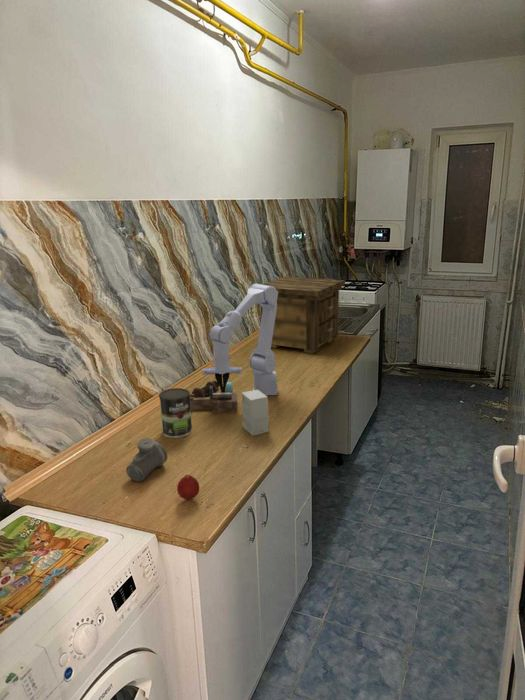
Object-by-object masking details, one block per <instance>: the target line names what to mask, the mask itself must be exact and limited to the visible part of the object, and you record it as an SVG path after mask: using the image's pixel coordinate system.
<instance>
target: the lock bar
mask: <svg viewBox="0 0 525 700" xmlns="http://www.w3.org/2000/svg"><path fill="white" fill-rule="evenodd" d="M209 389H210V393H209V397H210V399H213V396H218V398H229V397H231V393H221V392H214V393H213V386H210V388H209Z"/></svg>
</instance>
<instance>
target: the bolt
mask: <svg viewBox="0 0 525 700" xmlns="http://www.w3.org/2000/svg"><path fill="white" fill-rule="evenodd" d="M210 386H213V393H216V391H217V389H218V388H220V386H219V384H218V382H217V380H213V381H207V382H206V384H205V386H203V387H201V388H200V387H195V388H193V390H192V392H191V394H194V398H203V397H206V396H207V395H208V394H210V389H209V388H210Z"/></svg>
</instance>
